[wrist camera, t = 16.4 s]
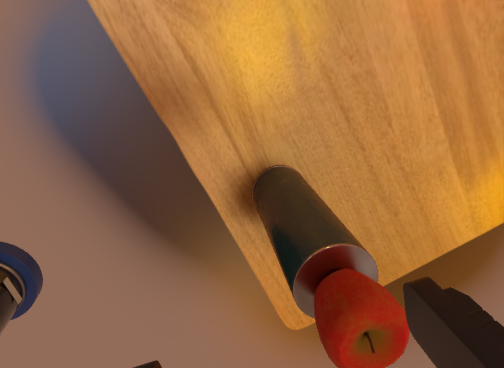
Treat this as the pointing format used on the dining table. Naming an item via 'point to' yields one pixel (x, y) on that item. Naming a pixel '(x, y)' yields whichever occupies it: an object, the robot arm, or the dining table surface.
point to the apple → (359, 321)
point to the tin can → (305, 234)
